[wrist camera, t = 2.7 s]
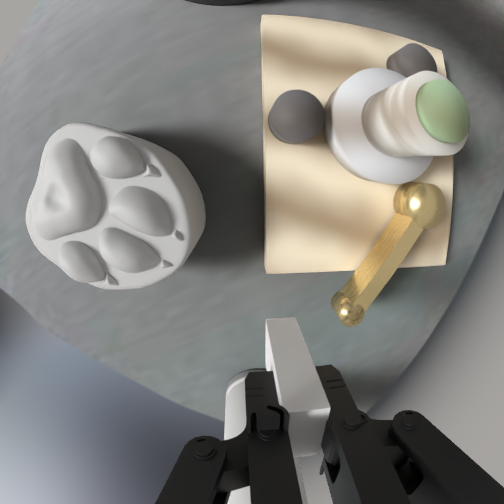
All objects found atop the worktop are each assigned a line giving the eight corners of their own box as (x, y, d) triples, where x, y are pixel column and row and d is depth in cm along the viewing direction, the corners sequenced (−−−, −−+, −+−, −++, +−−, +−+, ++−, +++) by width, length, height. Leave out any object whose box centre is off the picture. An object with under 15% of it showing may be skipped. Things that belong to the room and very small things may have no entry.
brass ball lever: (406, 172, 21) (426, 173, 19) (431, 198, 22) (451, 202, 19) (318, 299, 24) (328, 315, 21) (348, 318, 25) (360, 335, 22)
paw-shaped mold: (101, 121, 21) (46, 105, 13) (229, 178, 23) (223, 180, 15) (63, 224, 24) (7, 247, 15) (179, 284, 26) (154, 333, 17)
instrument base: (260, 24, 20) (274, -59, 8) (431, 55, 20) (505, 23, 9) (264, 266, 25) (283, 338, 14) (434, 259, 26) (511, 303, 15)
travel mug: (274, 358, 28) (310, 547, 9) (289, 400, 30) (323, 559, 11) (216, 373, 28) (203, 557, 9) (237, 413, 30) (240, 570, 11)
